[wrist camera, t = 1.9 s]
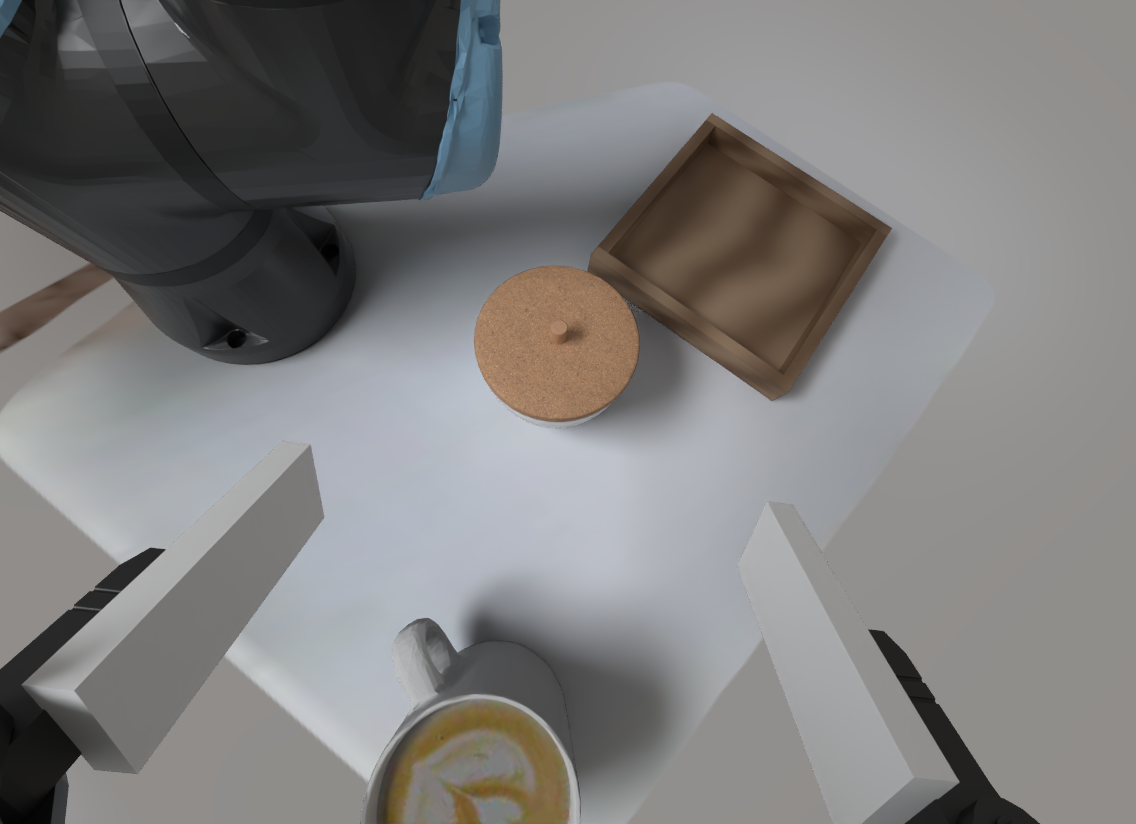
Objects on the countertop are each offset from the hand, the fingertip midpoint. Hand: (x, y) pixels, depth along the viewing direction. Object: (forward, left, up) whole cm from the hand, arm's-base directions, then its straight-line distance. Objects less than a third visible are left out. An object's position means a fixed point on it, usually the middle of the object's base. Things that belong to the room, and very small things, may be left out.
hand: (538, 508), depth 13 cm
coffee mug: (+4, -11, -21) cm, 24 cm away
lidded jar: (-6, +10, -21) cm, 24 cm away
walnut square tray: (0, +29, -21) cm, 35 cm away
